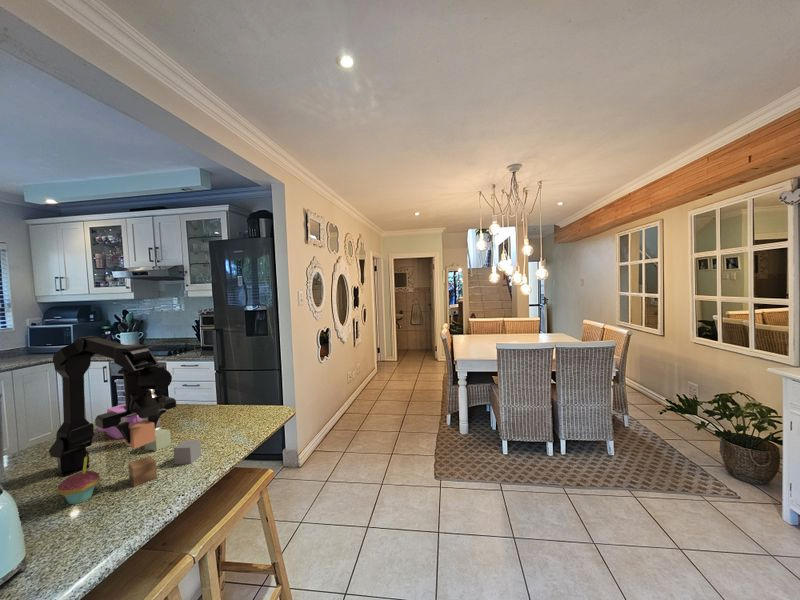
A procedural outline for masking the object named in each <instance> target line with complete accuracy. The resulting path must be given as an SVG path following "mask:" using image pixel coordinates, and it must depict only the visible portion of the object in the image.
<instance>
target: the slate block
mask: <svg viewBox="0 0 800 600" xmlns="http://www.w3.org/2000/svg"><path fill="white" fill-rule="evenodd" d="M201 448H202V447H201V439H188V440H187V439H185V440H182V441H181V442H180V443H178V444H177V445H176V446H175V447H173V448H172V449H173V459H174V460H173V463H174V465H188V464H189V465H192V464H193V463H195V461H197V460H198V459H199V458H200V457H202V449H201Z"/></svg>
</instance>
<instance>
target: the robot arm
mask: <svg viewBox="0 0 800 600" xmlns="http://www.w3.org/2000/svg"><path fill="white" fill-rule="evenodd" d="M95 355H99V356H102V357H106V358H109V359H111V360H113V363H114V364H115V365H118V366H120V367H121V368H120V369H119V370H118V371H117V374H118V375H123V387H124V391H123V392H122V395H123V397H124V400H125V401H124V402H125V403H124V404H126V406H124V409H125V410H126V411H125V412H121V413H116V412H113V411H112V412H108V413H107V412H105V413H102V414H98V415H97V416H96V417H95V419H94V421H95V425H94V424H93V423H91V422H89V421H88V419H86V411H85V409H86V407H85V404H86V403H85V400H86V399H85V374H86V373H87V371H88V369H90V367H91V364H92V362H91V361H92V358H93V357H94V356H95ZM52 363H53V367H54V371H56V373H58V374H59V376H60V377H61V379H62V408H63V409H62V410H63V411H62V414H63V422H62V424H61V425H60V426H59V428H58V430H56V437H55V441H54V443H52V445H51V446H50V448H49V450H48V453H49V456H50V457H51V458H56V462H57V463H56V464H57V470H55V472H56V474H58V475H60V476H61V477H66V476H69V475H70V476H71V475H73V474H76V473H78V472H81V471H83V465H84V458H85V457H86V454H87V457H88V458H87V466H86V469H89V468H90V454H89V451H88V450H87V448H88V447H90V446H92V444H93V440H94V436H95V433H94V431H95V430H94V429H95V428H94V427H95V426H96V427H97V426H98V427H100V428H102V429H106V428H109V427H113V426H114V427H117V429H118V430H119V431H120V432H121V434H122V436H123V437H124V438H123V439H124V440H126V442H127V443H128V444H130V433H129V422H127V421H126V418H128V417H131V416H134V415H138V416H139V418H147V417H148V421H150V422H153V423H154V425H155V428H156V425H157V422H158V420H159V418H160V419H161V416H163V414H166V412H167V410H170V409H174V408H176V407H177V400H176V399H175V398H174V397H170V396H165V395H164V394H161V395H157V397H152V394H151V390H149V389H154V390H159V391H162V390H167V388H168V387H169V386H170V385H171V383H172V379H173V377H172V376H173V375H172V374H171V372H170V371H169V370H167V369H166V366H165V365H160V363H159V361H158V359H157V358H156V357H155V356H154V354H153V352H152V351H151V350H150V347H149V346H148V345H145V344H138V343H137V344H123V343H120V342H115V341H113V340H108V339H105V338H101V337H99V336H98V335H89V336H88V335H87V336H82V337H79V338H76V339H75V340H74V341H73V342H72V343H70V344H68V345H66V346H64V347H62V348H60V349H59V350H57V351H56V353H54V354H53V356H52Z"/></svg>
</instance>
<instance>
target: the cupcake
mask: <svg viewBox="0 0 800 600" xmlns="http://www.w3.org/2000/svg"><path fill="white" fill-rule="evenodd" d="M87 458H88V457H87V454H86V457H85V458H84V465H83V470H80V471H78V472H75V473H73V474H71V475H70V476H68V477H67V478H65V479H63V480H62V481H61V482H60V483H59V484H58V486H57V489H56V492H57V494H58V495H61V496H64V498H65V499H66V501H67V503H68V504H70V505H75V504H80V503H83V502H85V501H87V500H88V499H90V498H91V497H92V496H93V495H94V494H93V493H94V490H95V487H96V485H97V484H98V483H99V482H100V481H101V477H100V473H99V472H96V471H94V470H87V468H86V466H87Z"/></svg>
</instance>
